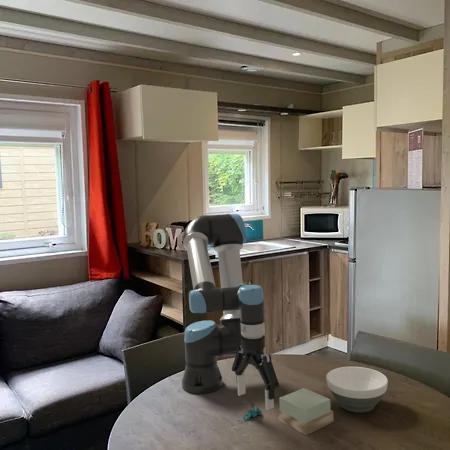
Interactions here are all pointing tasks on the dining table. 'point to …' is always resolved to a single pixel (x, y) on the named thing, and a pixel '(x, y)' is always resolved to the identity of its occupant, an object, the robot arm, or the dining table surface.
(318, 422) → the tower base
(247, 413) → the dragon figurine
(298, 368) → the dining table surface
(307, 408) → the tower top
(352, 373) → the bowl
